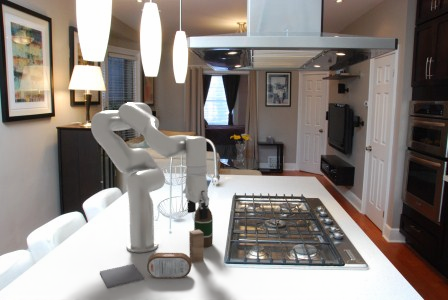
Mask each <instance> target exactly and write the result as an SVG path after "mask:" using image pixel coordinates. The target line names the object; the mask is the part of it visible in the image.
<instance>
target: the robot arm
mask: <svg viewBox="0 0 448 300" xmlns="http://www.w3.org/2000/svg"><path fill="white" fill-rule="evenodd" d="M159 126H160V121H159V119H158V118H157V117H156V116H154V115H153V112H152V108H151V107H150V106H149V105H148V104H146V103H145V102H127V103H123V104H122V105H120V107H119V108H118V110H102V111H98V112H96V113H95V114H94V115H93V116H92V118H91V122H90V129H91V133H92V136H93V138H94V139H95V140H96V142H97V143H98V144H99V145H100V146H101V148H102V149H103V150H104V151H105V153H106V154H107V156H108V157H109V158H110V161H112V163H113V164H114V166H115V167H116V169H117V170H118V171H119V172H120V173H122V174H129V176H128V177H127V178H126V182H125V186H126V193H127V197H128V203H129V205H128V207H129V208H128V209H129V210H128V211H129V236H130V237H129V238H130V241H129V242H128V243H127V244H126V250H127V251H129V252H132V253H136V254H138V253H139V254H141V253H142V254H143V253H148V252H151V251H154V250H156V249H158V247H159V242H158V241H157V240H155V222H154V219H155V218H154V217H155V215H154V203H153V199H152V197H151V195H150V193H152V192H155V191H157V190H158V191H159V190H160V189H161V188H163V187H164V185H165V183H166V176H165V173H164V172H163V170H162V169H161V167H160V166H159V165H158V162H156V161H155V159H154V158H153V156H152V155H151V153H150V152H148V151H147V150H146V149H144V148H142V147H141V148H140V147H138V148H130V147H129V145H127V143H126V142H125V140H124V139H123V138H122V137H121V136H120V135H118V134H116V133H115V132H116V131H117V132H118V131H125V130H129V129H133V130H135V131H136V132H138V133H139V134H141V136H143V138H144V140H145V142H146V145H148V147H149V148H150V149H152V150H153V151H154V152H155V153H158V154H159V155H160V156H162V157H165V158H174V157H178V156H184V155H185V171H186V172H185V174H186V176H185V191H184V192H185V193H184V194H185V195H184V197H185V198H186V203H187V213H188V214H190V213H195V212H196V210H197V205H196V204H198V206H199V207H200V209H199V219H200V220H202V219H207V218H208V209H207V208H209V203H210V197H209V196H208V180H207V173H208V172H207V171H208V167H207V166H208V165H207V164H208V162H207V161H208V159H207V158H208V156H207V138H206V137H204V136H202V135H200V136H199V135H197V136H194V135H193V136H190V135H186V134H177V135H170V136H169V135H166V134H164V133H163V132H161V131H160V130H159ZM201 203H203V204H201Z"/></svg>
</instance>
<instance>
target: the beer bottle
mask: <svg viewBox="0 0 448 300" xmlns="http://www.w3.org/2000/svg"><path fill="white" fill-rule="evenodd" d="M201 204H203V203H201ZM199 209H200V207H199V205H198V206H197V208H196V212H194V215H193V216H194V217H193V223H194V224H193V225H194V226H193V227H194V229H193V230H200V231H202V232H203V233H204V249H205V248H210V247H211V246H212V245H213V242H214V241H213V238H214V237H213V235H214V234H213V233H214V232H213V231H214V229H213V223H214V222H213V221H214V220H213V214H212V211H211V210H210V208H209V207H208V208H207V209H208V218H207V219H202V220H200V219H199Z"/></svg>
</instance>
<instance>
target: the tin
mask: <svg viewBox="0 0 448 300" xmlns="http://www.w3.org/2000/svg"><path fill="white" fill-rule="evenodd" d="M192 264H193V262H192V261H191V259H190V255H189V256H188V255H187V254H186V253H183V252H156V253H154V254H152V255H151V256H150V257H149V258H148V260H147V264H146V269H147V272H148V273H149V275H150V276H151V277H153V278H156V279H182V278H186V277H187V276H189V274H190V272H191V270H192V267H193V266H192Z"/></svg>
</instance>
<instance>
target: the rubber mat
mask: <svg viewBox="0 0 448 300" xmlns="http://www.w3.org/2000/svg"><path fill="white" fill-rule="evenodd" d="M99 275H100V276H101V278H102V280H103V282H104V283H105V285H106V288H107V289H110V288H114V287H118V286H122V285H126V284H127V285H128V284H130V283H134V282H140V281H143V280H145V276H144V275H143V274H142V273H141V271H140V270H139V268H137V266H136V265H135V264H134V263H132V264H126V265H123V266H118V267H114V268H108V269H105V270H104V269H103V270H100V271H99Z"/></svg>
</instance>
